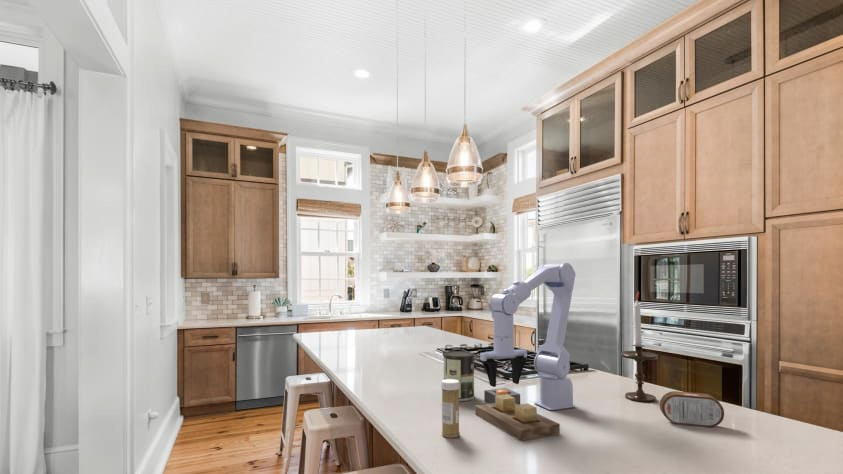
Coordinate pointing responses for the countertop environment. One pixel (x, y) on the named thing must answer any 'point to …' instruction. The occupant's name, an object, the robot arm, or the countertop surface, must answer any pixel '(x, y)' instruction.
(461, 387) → the coffee can
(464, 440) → the countertop surface
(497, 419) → the wooden socket board
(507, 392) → the button
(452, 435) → the sprinkles bottle
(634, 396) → the candlestick
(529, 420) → the block
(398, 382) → the countertop surface
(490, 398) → the button housing
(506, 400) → the loose billet
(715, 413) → the tin
